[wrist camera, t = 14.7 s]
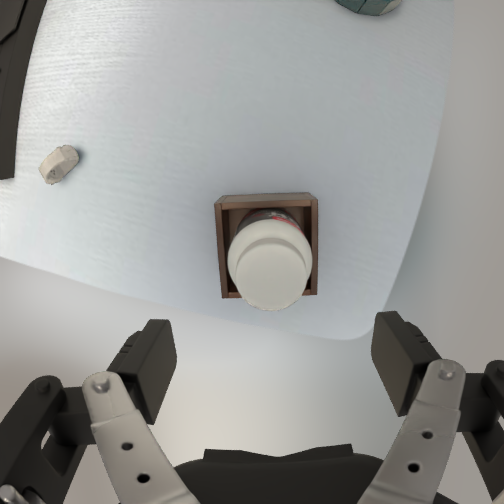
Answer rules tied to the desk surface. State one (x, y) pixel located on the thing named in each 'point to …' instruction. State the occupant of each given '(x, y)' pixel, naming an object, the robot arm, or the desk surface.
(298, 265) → the pill bottle
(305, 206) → the holder
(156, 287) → the desk surface
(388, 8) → the teal ring
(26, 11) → the dark grey flat block
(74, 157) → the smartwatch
